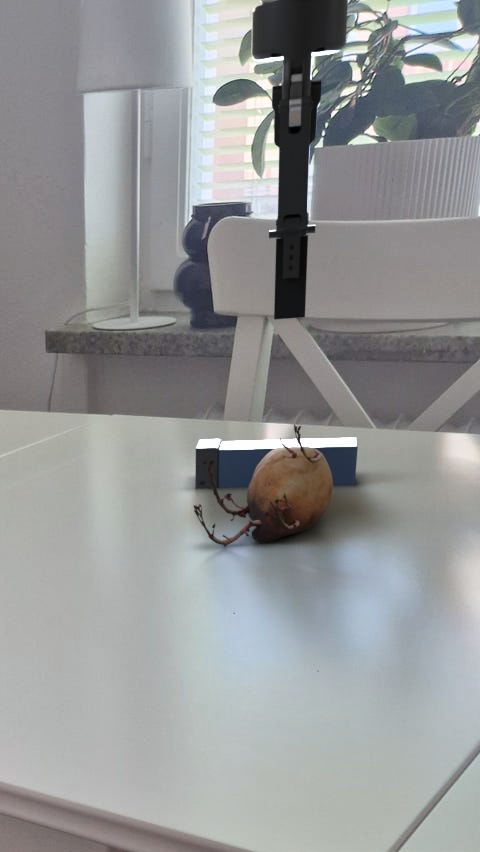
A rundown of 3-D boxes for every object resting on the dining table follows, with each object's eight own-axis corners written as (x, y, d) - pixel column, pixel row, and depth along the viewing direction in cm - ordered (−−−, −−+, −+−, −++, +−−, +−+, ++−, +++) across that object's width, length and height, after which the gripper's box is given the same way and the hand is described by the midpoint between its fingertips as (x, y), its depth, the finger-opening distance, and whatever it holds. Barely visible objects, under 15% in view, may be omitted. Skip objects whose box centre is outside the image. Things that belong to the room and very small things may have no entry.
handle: (353, 478, 106) (357, 434, 104) (354, 488, 103) (358, 444, 101) (199, 481, 109) (199, 439, 108) (195, 491, 106) (195, 448, 104)
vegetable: (181, 465, 102) (239, 356, 96) (290, 521, 103) (354, 416, 98) (172, 526, 89) (238, 404, 84) (297, 588, 90) (371, 472, 85)
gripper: (255, 11, 100) (250, 311, 112) (248, -4, 89) (243, 329, 101) (346, -1, 98) (331, 305, 110) (350, -18, 87) (333, 323, 99)
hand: (289, 317), depth 105 cm, fingers closed
